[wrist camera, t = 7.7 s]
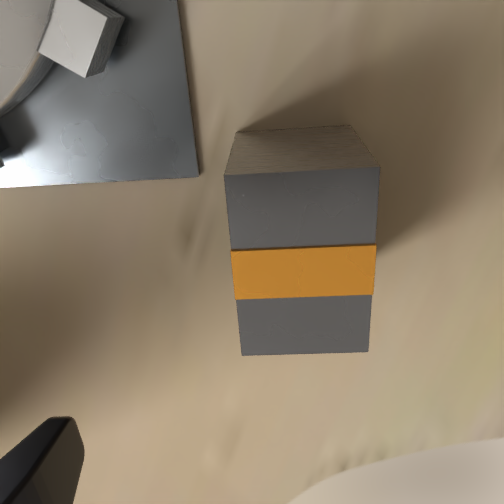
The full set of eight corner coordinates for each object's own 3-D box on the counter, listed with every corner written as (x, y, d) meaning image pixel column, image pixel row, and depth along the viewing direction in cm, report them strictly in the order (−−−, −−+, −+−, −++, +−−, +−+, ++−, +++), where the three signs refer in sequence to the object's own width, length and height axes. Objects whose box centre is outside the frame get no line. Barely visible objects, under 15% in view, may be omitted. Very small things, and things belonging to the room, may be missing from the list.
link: (345, 272, 19) (369, 353, 14) (247, 276, 19) (240, 357, 14) (350, 124, 16) (381, 167, 11) (235, 131, 16) (222, 176, 12)
